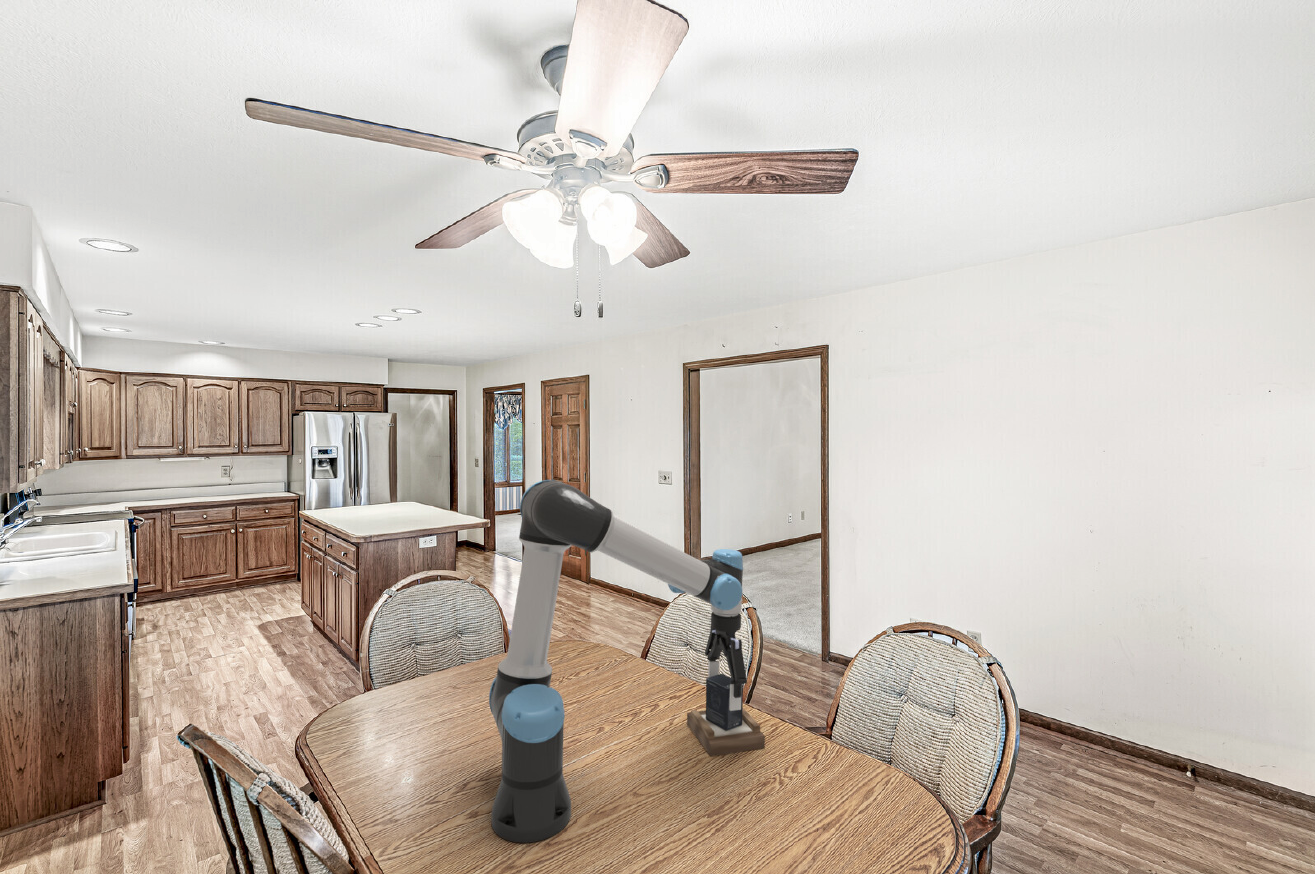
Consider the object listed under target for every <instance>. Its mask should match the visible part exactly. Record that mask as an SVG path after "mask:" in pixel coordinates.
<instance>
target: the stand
mask: <svg viewBox="0 0 1315 874" xmlns="http://www.w3.org/2000/svg"><path fill="white" fill-rule="evenodd" d="M686 725H687V726H688V728H689V729H690V730H691V732H692V733H693V735H694V736H695V737H696V738H697V740H698V741H699V743H700V744H701V746H703V748H704V750H705V751H706V752H707V754H708V755H709V756H710V757H715V756H720V755H721V756H722V755H729V754H734V753H740V752H747V751H754V750H760V749H761V750H762V749H765V748H766V747H765V741H766V740H765V739H766V736H765V734H764V733H763V732H762V731H761V724H759V723H758V722H757V721H756V720H755V719H754V718H753V716H751V714H749V713H748V712H747V711H746V710H745V709H744V708H743V713H742V726H739V727H736V728H734V729H731V730H728V731H726V730H724V729H722V728H720V727H719V726H717V725H715V724H713V723H712V722H710V721H708V720H706V709H705V710H697V709H690V712H687V713H686Z"/></svg>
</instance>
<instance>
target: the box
mask: <svg viewBox="0 0 1315 874" xmlns="http://www.w3.org/2000/svg"><path fill="white" fill-rule="evenodd" d="M730 681H732V679H731V676H728V675H726V674H724V673H719V675H715V676H712V677H708V676H707V677H706V679H705V710H706V720H708V721H710V722H712V723H713V724H715V725H717V726H719V727H720V728H722V729H724V730H726V731H728V730H731V729H734V728H736V727H739V726H742V713H743V709H744V707H743V706H744V705H743V703H744V701H743V699H744V696H743V695H744V693H743V691H744V688H743V687H744V684H742V692H741V710H734V711H730V710H729V702H730V683H729V682H730Z"/></svg>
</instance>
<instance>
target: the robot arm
mask: <svg viewBox="0 0 1315 874" xmlns="http://www.w3.org/2000/svg"><path fill="white" fill-rule="evenodd" d="M519 511H520V512H519V513H520V515H521V524H520V529H519V537H518V540H519V541H520V542H521V544H522V545H523V548H524V549H523V556H522V562H521V563H522V564H521V569H520V574H519V579H518V580H519V582H518V587H517V595H516V600H515V605H514V610H513V611H514V612H513V617H512V618H513V619H512V623H511V630H510V634H509V635H510V637H509V644H508V649H507V655H506V657H504V658H503V659H502V660H501V661H500V662H498V667H497V671H496V672H497V673H496V676H495V678H494V679H493V681H492V683H491V685H490V688H489V695H488V697H489V698H488V705H489V709H490V712H491V715H492V717H493V719H494V721H495V722H494V723H495V725H496V727H497V730H498V733H499V736H500V740H501V780H500V782H499V786H498V789H497V792H496V795H495V797H494V801H493V804H492V808H491V821H490V823H491V827H492V830H493V831H494V832H495V834H496V835H498V836H499V837H500V838H502V839H504V840H506V841H510V842H514V843H523V844H525V843H534V842H540V841H543V840H546V839H549V838H552V837H553V836H555V835H556V834H558V833H559V832H561V831H563V829H564V828H565V827H566V826H567V825H568V823H569V822H570V819H571V817H572V816H571V815H572V800H571V796H570V793H569V790H568V787H567V784H566V779H565V777H564V772H563V771H564V770H563V768H564V767H563V766H564V729H565V728H564V722H565V712H566V711H565V708H564V701H563V700H564V699H563V698H562V695H561V694H560V693H559V691H558V690H556V689H555V688H553V687H551V681H552V673H553V667H552V666H551V664H550V663H549V662H548V655H549V648H550V644H551V643H550V641H551V636H552V630H553V625H554V624H553V623H554V617H555V612H556V611H555V610H556V604H557V598H558V592H559V584H560V580H561V579H560V578H561V574H562V573H561V572H562V565H563V560H564V553H565V552H566V551H567V550H568V549H569V548H571V547H572V546H574V547H577V548H579V549H581V550H584V551H586V552H588V553H590V554H592V553H594V552H600V553H602V554H604V555H607V556H609V557H611V558H613V559H614V560H617V561H620V562H621V563H623V564H625V565H627V566H629V567H632V568H634V569H636V570H638V571H640V572H643V573H645V574H647V575H649V576H651V577H653V578H655V579H657V580H659V581H662V582H663V583H665V584H667V585H668V588H669V590H670V592H672V593H674V594H682V595H683V594H689V595H691V596H693V597H694V598H697V599H699V600H701V601H703V602H705V603H707V604H710V610H711V611H712V612H711V613H710V628H709V636H708V639H707V643H706V646H705V651H704V655H705V656H707V660H708V664H707V666H708V669H707V672H708V673H707V678H708V677H712V676H715V675H719V674H720V661H719V660H721V659H720V655H721V654H723V656H724V657H726V663H727V666H728V670H729V675H730V678H731V679H732V681H730V682H729V683H730V702H729V710H730V711H734V710H741V692H742V684H743V685H744V684H745V685H746V684H747V683H748V681H747V679H748V678H747V674H746V668H745V667H746V666H745V662H744V661H745V660H744V653H743V642H742V639H740V638H739V639H737V638H736V633H737V632H738V631H740V630H741V629H742V614H741V612H742V603H743V598H742V597H743V572H744V560H743V554H742V552H740V551H739V550H735V549H730V548H719V549H715V550H714V551H713V552H712V557H711V558H709V559H698V558H696V557H693V556H692V555H689V553H686V552H684V551H682V550H680V549H678V548H676V547H675V546H672V545H670V544H668V543H666V542H665V541H662V540H660V539H659V538H657V537H655V536H653V535H651V534H648V533H646V532H644V531H642V530H641V529H639V528H636V527H635V526H633V525H631V524H629V523H627V522H624V521H622V520H620V519H619V518H617V517H615V516H614V513H613V510H612V509H610V508H608V507H606V506H604V505H602V504H601V503H599V502H598V501H596V500H594V499H593V498H591V497H590V496H588V495H587V494H586V493H584V491H581V490H580V489H578V488H577V487H575V486H574V485H571V484H568V483H564V482H562V481H558V480H555V479H545V480H541V481H537V482H535V483H533V484H532V485H531V486H529V487H528V488H527V489H526V491H524V493H523V495H522V497H521V499H520V506H519Z"/></svg>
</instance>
